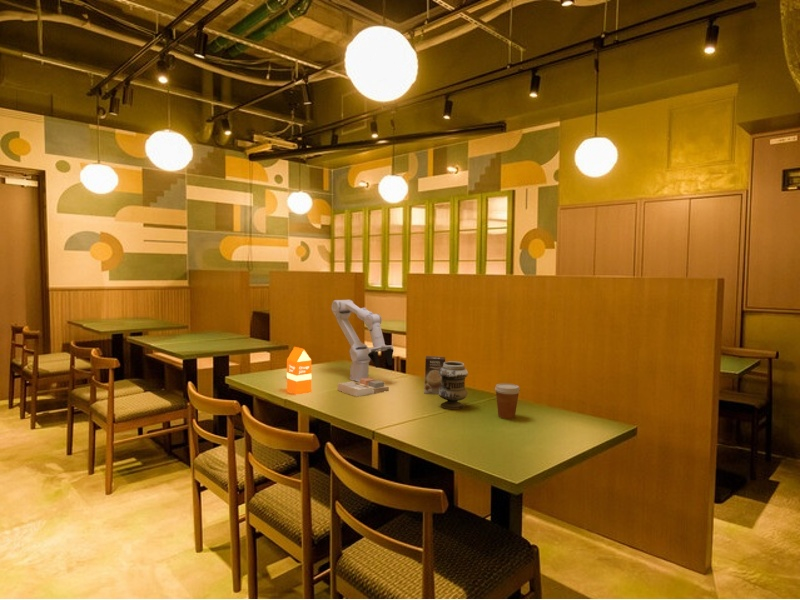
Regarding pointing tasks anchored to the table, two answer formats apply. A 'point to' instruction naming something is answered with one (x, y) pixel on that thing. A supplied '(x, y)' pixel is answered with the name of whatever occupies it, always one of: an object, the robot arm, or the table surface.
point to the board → (376, 390)
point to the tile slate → (376, 384)
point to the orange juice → (299, 372)
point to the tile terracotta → (366, 381)
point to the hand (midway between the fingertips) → (384, 366)
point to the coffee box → (433, 374)
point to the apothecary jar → (453, 384)
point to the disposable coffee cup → (507, 400)
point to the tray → (354, 389)
